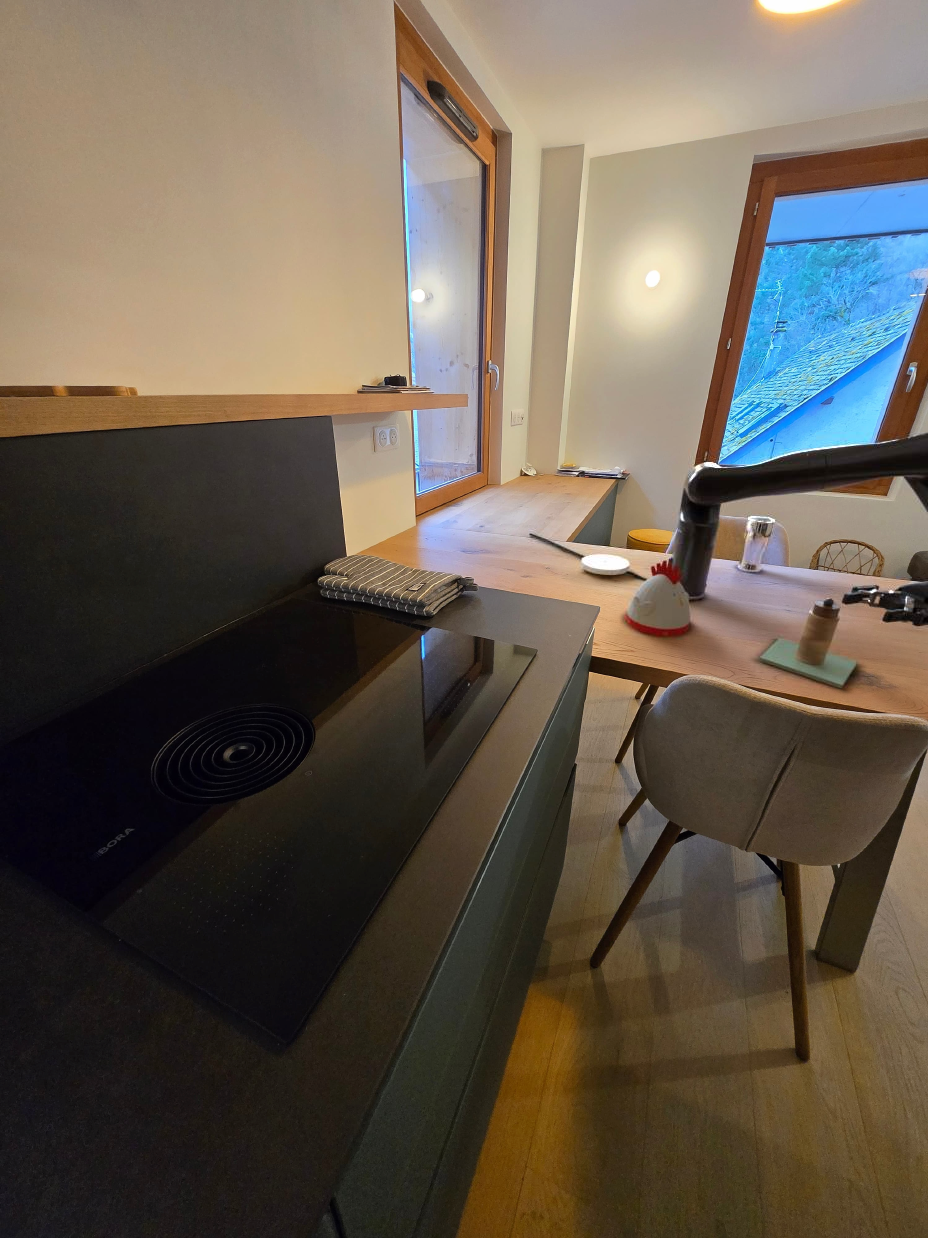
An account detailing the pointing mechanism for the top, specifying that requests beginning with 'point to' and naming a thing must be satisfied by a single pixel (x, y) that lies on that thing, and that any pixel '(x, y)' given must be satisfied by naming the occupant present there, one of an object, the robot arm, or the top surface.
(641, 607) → the kitchen timer
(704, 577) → the robot arm
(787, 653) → the rubber mat
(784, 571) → the top surface
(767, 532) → the beer glass
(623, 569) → the plastic lid
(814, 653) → the pepper mill
